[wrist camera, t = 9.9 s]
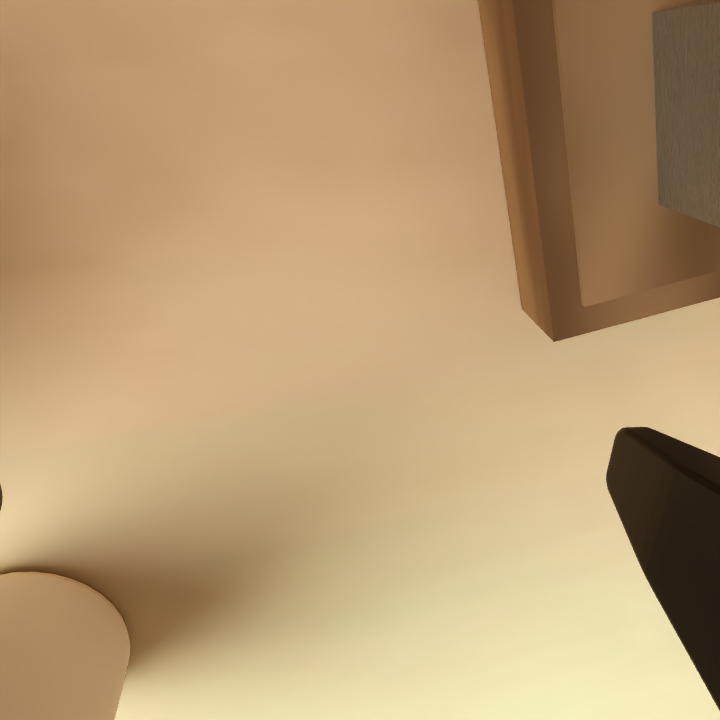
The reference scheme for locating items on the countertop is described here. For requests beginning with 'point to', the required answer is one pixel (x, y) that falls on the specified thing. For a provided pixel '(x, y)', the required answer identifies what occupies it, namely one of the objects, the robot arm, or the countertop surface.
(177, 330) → the countertop surface
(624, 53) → the stand
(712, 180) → the housing
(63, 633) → the milk bottle
